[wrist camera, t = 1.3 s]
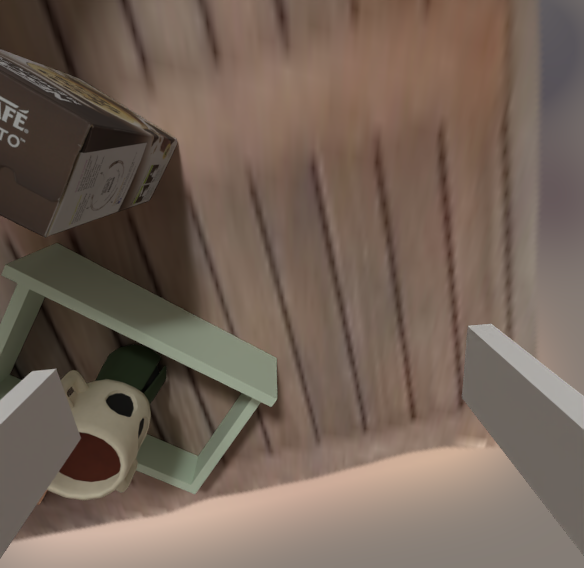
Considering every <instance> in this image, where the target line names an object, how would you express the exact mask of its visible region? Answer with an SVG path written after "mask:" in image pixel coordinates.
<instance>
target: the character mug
mask: <svg viewBox="0 0 584 568" xmlns="http://www.w3.org/2000/svg"><path fill="white" fill-rule="evenodd" d="M160 359H161V357H160V355H159V354H157V353H156V352H154V351H153V350H151V349H150V348H148V347H144V346H140V345H136V344H134V345H129V346H124V347H120V348H119V349H117V350H115V351H114V352H112V353H111V354H109V356H108V358H107V360H106V361H105V363H104V365H103V367H102V369H101V371H100V373H99V374H98V377H97V379H96V381H92V382H89V383H86V382H85V380H84V379H83V377H82V376H81V374H80V373H79V372H77V371H75V370H72V371H69V372H68V373H67V374H66V375H65V376H64V377H63V378H62V379H61V383H62V386H63V389H64V392H65V394H66V397H67V400H68V403H69V406H70V408H71V411H72V414H73V417H74V420H75V423H76V425H77V428H78V431H79V434H80V437H81V439H80V441H79V442H78V444H77V445H76V447H75V448H74V450H73V451H72V453H71V454H70V456H69V457H68V459H67V460H66V462H65V463H64V465H63V466H62V467H61V469H60V470H59V472H58V473H57V475H56V476H55V478H54V479H53V481H52V482H51V484H50V485H49V487H48V488H47V490H48V491H50V492H53V493H55V494H58V495H60V496H62V497H65V498H70V499H77V500H90V499H97V498H102V497H104V496H106V495H108V494H110V493H111V492H113V491H115V490H117V491H118V492H121V493H123V492H124V491H125V490H126V489H127V488H128V487H129V485H130V483H131V481H132V478H133V476H134V474H135V471H136V469H137V465H138V462H137V459H136V457H137V453H138V451H139V448H140V446H141V444H142V442H143V441H144V439H145V437H146V435H147V432H148V429H149V425H150V418H151V412H150V403H151V402H152V401H153V399H154V398H155V396H156V395H157V393H158V391H159V390H160V388H161V386H162V385H163V383H164V381H165V380H166V370H167V368H166V366H164V367H163V369H162V370H161V372H160V373H159V369H158V366H157V364H158V363H159V361H160ZM71 387H72V388H73V390H74V392H73V393H72V394H71V395H70V397H68V395H67V391H68V390H69V389H70V388H71Z"/></svg>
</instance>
